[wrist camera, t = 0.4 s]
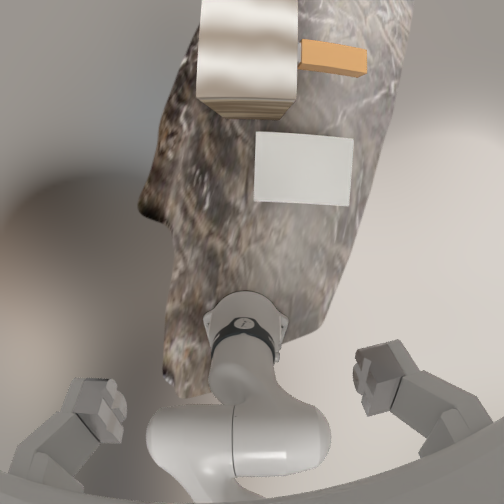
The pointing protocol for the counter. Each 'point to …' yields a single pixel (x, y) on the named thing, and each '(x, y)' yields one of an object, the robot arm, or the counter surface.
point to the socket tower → (248, 57)
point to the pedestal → (303, 168)
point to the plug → (331, 58)
